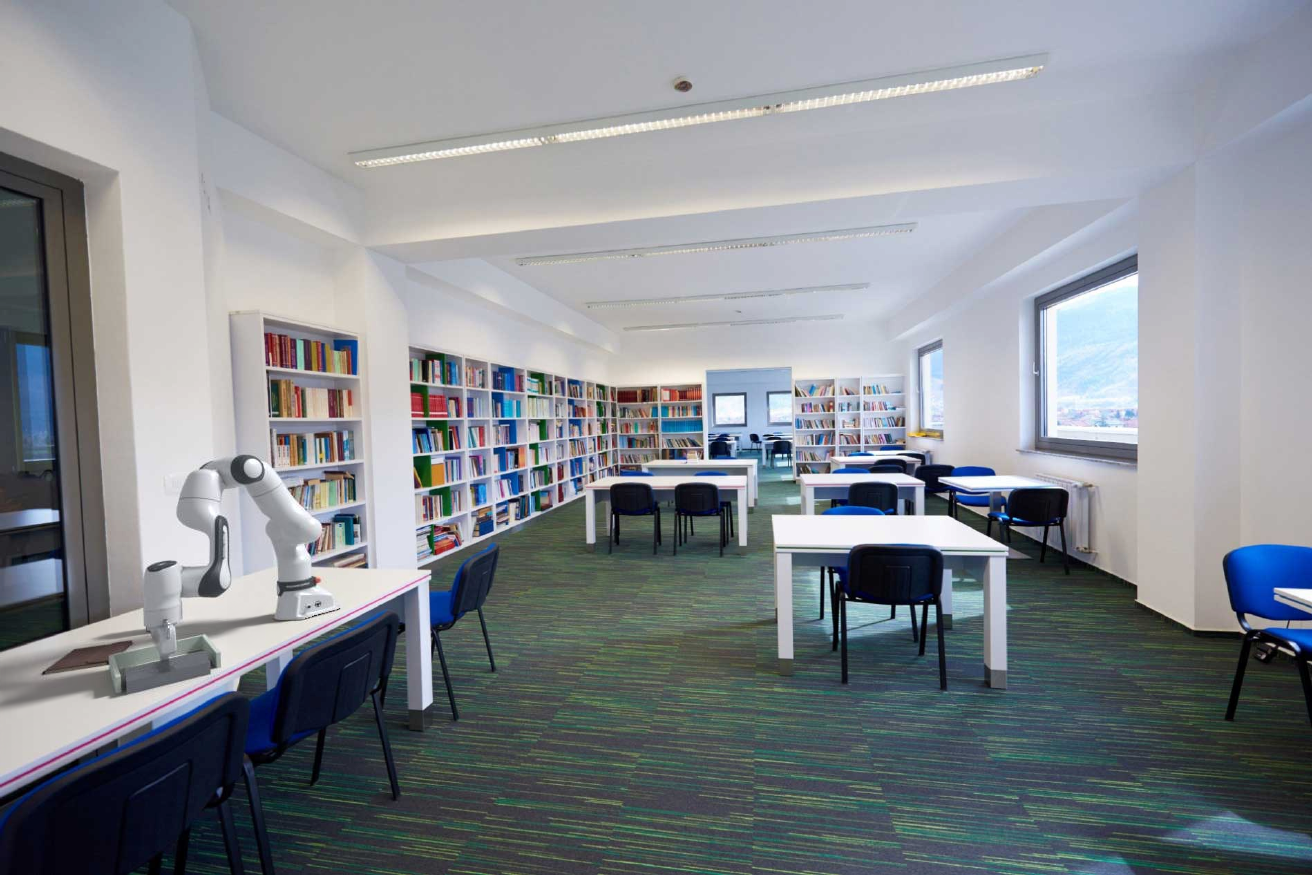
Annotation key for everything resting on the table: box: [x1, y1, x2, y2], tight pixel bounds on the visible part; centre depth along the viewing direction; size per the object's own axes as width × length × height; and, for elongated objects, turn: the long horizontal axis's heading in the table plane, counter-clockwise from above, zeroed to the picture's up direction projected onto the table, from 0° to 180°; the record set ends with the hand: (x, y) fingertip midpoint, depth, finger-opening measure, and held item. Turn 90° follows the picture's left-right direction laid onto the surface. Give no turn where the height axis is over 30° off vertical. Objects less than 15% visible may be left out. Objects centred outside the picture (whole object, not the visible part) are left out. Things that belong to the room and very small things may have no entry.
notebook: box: [41, 639, 134, 676], centre depth 180 cm, size 15×20×2 cm
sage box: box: [108, 633, 222, 695], centre depth 171 cm, size 23×24×4 cm
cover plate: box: [124, 650, 212, 696], centre depth 164 cm, size 18×13×4 cm
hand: (164, 662), depth 170 cm, fingers closed
